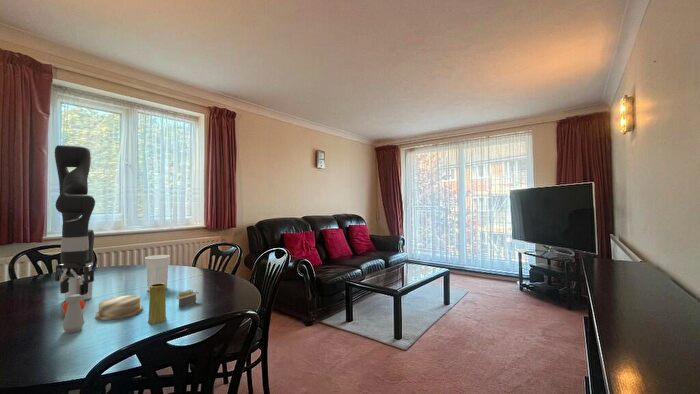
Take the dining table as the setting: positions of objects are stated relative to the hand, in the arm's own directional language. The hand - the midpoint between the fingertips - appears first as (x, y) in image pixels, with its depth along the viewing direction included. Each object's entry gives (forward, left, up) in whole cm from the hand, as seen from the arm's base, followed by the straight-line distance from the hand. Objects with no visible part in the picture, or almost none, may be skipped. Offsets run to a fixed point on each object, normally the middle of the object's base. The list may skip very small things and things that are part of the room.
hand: (74, 293), depth 109 cm
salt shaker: (0, 0, -14) cm, 14 cm away
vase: (+22, +14, -14) cm, 30 cm away
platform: (+20, +33, -14) cm, 41 cm away
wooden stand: (0, +18, -14) cm, 23 cm away
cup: (-11, +49, -14) cm, 52 cm away
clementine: (-17, +13, -14) cm, 26 cm away
